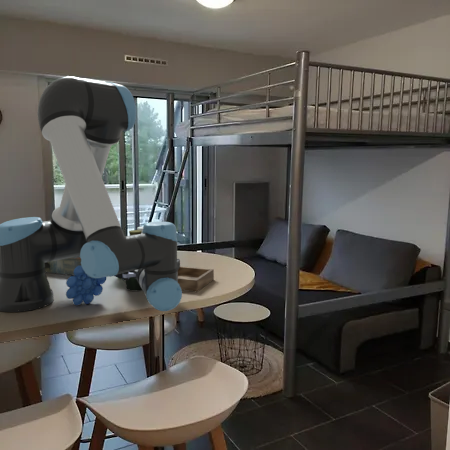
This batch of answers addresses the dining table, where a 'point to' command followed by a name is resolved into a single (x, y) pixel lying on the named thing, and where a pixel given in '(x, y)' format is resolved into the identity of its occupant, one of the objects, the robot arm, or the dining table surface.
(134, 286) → the potion bottle
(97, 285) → the grapes
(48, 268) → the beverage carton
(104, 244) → the robot arm
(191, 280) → the walnut tray
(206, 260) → the dining table surface
